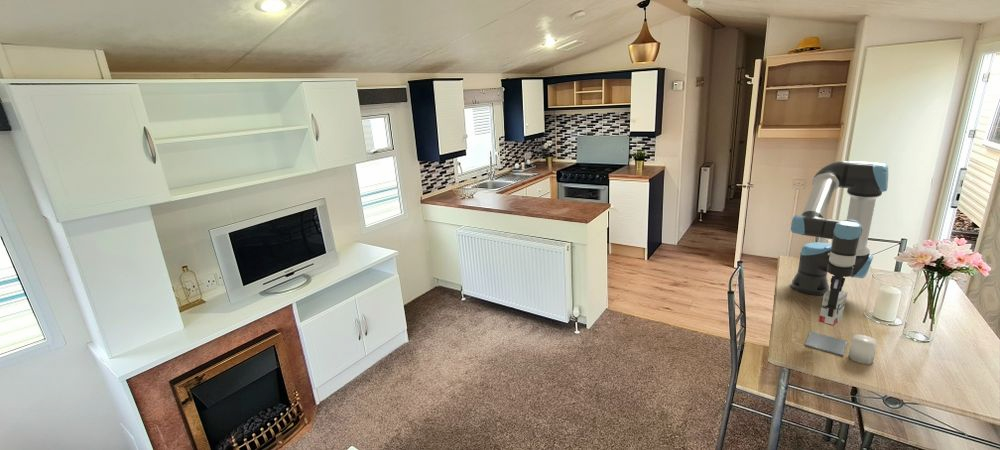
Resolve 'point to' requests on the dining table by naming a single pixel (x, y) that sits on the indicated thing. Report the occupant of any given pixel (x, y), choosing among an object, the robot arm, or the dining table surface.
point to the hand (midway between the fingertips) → (830, 318)
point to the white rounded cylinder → (862, 349)
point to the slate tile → (826, 343)
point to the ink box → (839, 307)
